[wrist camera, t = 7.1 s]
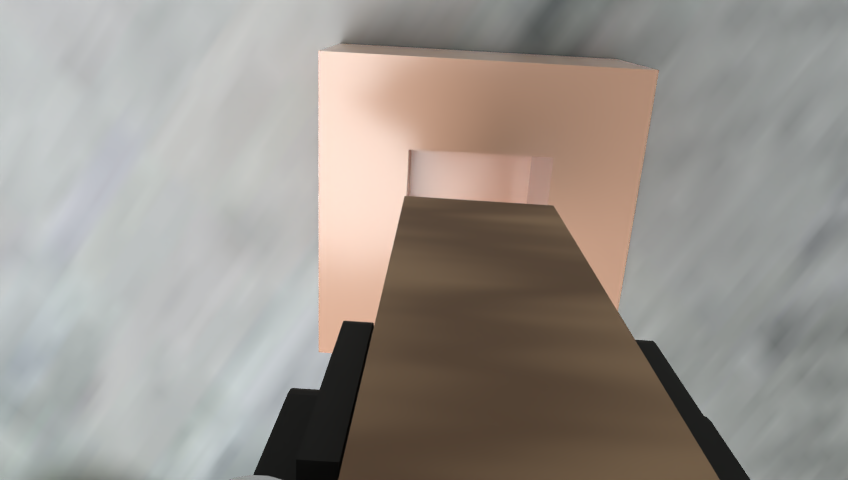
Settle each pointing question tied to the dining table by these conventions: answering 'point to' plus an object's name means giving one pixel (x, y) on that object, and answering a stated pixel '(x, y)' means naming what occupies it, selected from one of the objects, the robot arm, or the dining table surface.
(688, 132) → the dining table surface
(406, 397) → the walnut peg
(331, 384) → the robot arm
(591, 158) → the pink planter box
